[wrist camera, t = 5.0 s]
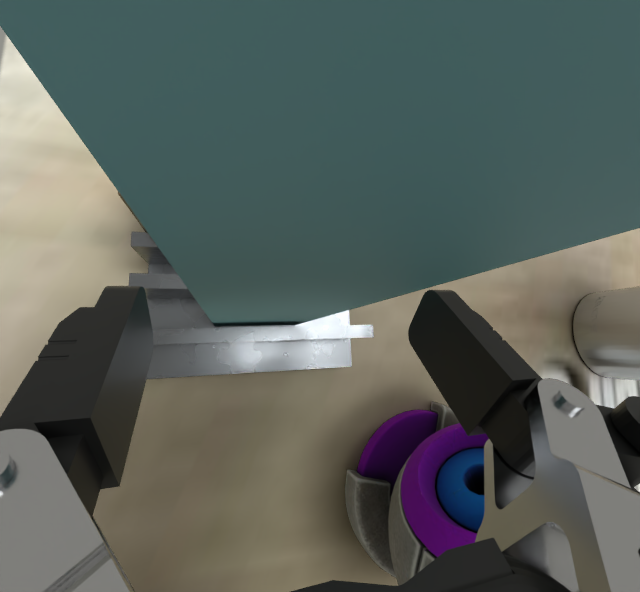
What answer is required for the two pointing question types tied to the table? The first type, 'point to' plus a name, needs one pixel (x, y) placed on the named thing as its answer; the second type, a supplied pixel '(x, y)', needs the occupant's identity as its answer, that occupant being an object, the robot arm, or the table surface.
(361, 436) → the table surface
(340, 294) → the tall sheet
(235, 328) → the rack
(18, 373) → the table surface
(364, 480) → the webcam
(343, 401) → the table surface
